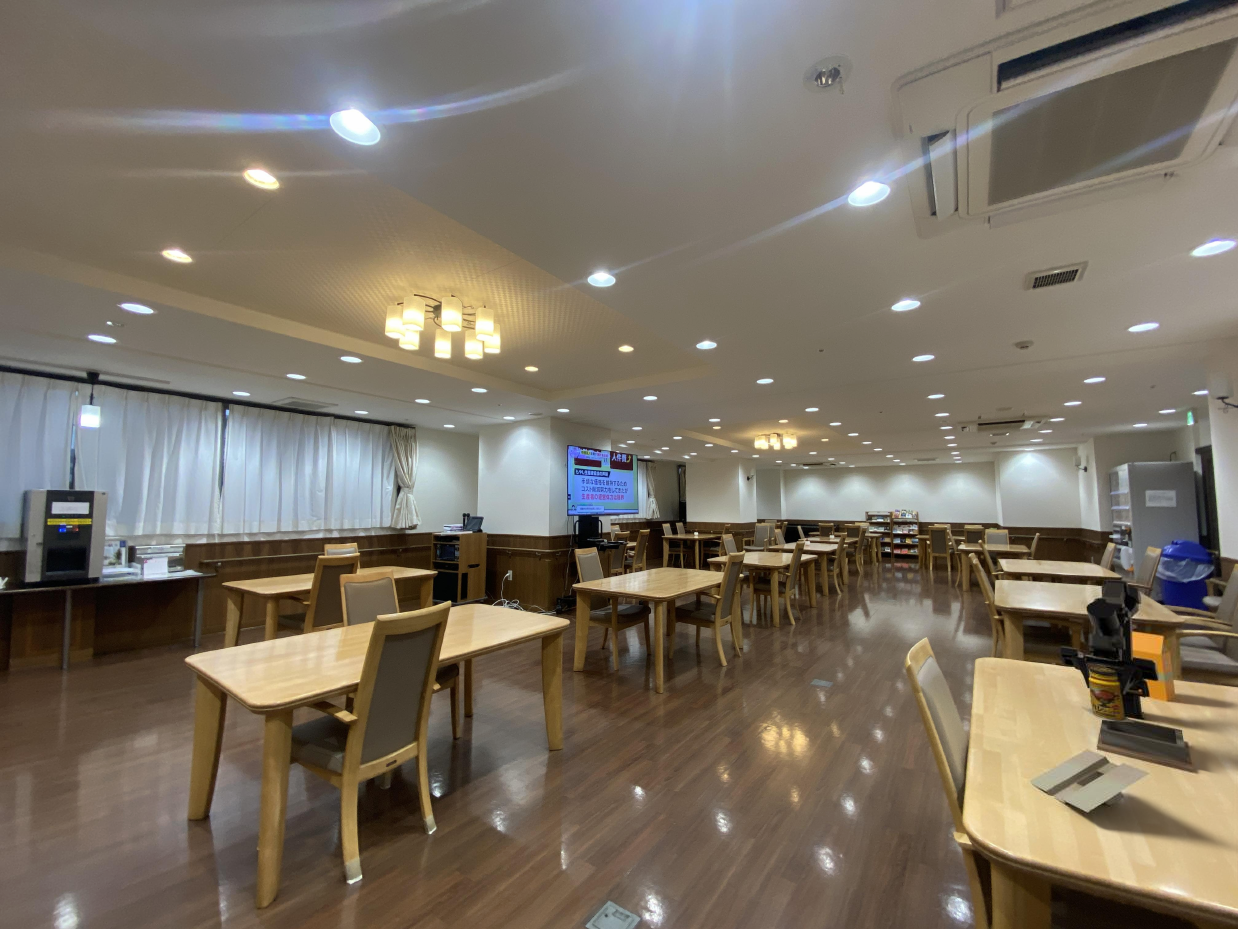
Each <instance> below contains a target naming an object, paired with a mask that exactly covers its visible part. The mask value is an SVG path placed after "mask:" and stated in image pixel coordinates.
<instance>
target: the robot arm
mask: <svg viewBox="0 0 1238 929" xmlns="http://www.w3.org/2000/svg"><path fill="white" fill-rule="evenodd" d="M1141 604H1142V596H1141V592H1140V590H1139V588H1137V587H1135V586H1134V585H1131V584H1129V582H1128V581H1126V580H1121V579H1120V580H1119V579H1107V580H1106V579H1104V584H1102V585H1101V597H1098V598H1096V597H1095V599H1093V601H1092V602H1090V603H1088V604H1087V606H1086V607H1085V609H1086V612H1087V616H1088V619H1089V621H1090V623H1091V626H1092V627H1093V633H1089V634H1088V646H1089V653H1091V654H1090V655H1089V654H1085V653H1083V652H1081V651H1080V650H1079V648H1076V647H1069V646H1065V645H1064V646H1063V645H1062V646H1060V647H1059V648H1058V655H1059V657H1060V660H1061V663H1062V664H1063V665H1065V666H1068V667H1072V668H1074V669H1075V670H1077V671H1080V672H1081V674H1082V676H1083V680H1084V681H1085V685H1086V687H1087V689H1090V687H1089V678H1090V677H1091V676H1090V670H1089V669H1090V667H1089V665H1088V664H1095V665H1098V666H1104V667H1105V668H1108V669H1112V670H1115V671H1116V672H1117V677H1118V682H1119V683H1120V685H1121V695H1122V701H1123V709H1124V716H1125V717H1131V718H1136V719H1141V720H1145V712H1144V711H1143V709H1142V700H1141V698H1144V699H1145V698H1149V697H1150V694H1149V688H1148V684H1147V681H1145V679H1147V680H1152V681H1158V670H1157V667H1156V663H1155V662H1154V661H1153V660H1149V659H1143V658H1136V657H1133V641H1132V631H1133V617H1134V616H1135V615H1136V614H1137V613H1138V612H1139V610H1140V607H1139V605H1141ZM1139 690H1142V691H1139Z"/></svg>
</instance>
